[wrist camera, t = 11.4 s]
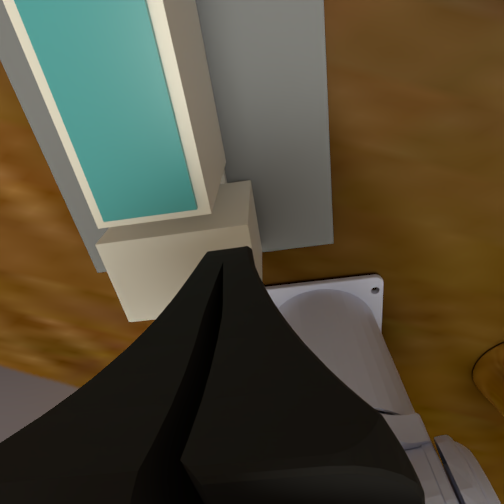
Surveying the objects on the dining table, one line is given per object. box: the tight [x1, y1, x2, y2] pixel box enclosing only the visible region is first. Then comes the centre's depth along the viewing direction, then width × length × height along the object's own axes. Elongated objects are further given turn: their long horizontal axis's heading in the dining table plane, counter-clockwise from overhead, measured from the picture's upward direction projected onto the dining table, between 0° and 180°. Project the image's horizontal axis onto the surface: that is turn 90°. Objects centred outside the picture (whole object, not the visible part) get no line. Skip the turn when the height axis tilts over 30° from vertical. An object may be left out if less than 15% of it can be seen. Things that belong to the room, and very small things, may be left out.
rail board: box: [0, 0, 334, 322], centre depth 14 cm, size 18×14×6 cm
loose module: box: [2, 0, 226, 229], centre depth 13 cm, size 7×4×6 cm, turn 9°
